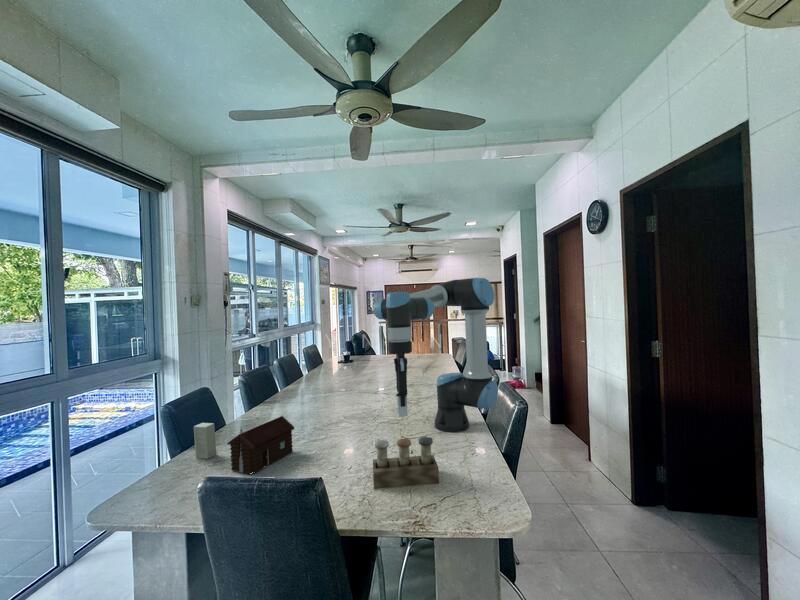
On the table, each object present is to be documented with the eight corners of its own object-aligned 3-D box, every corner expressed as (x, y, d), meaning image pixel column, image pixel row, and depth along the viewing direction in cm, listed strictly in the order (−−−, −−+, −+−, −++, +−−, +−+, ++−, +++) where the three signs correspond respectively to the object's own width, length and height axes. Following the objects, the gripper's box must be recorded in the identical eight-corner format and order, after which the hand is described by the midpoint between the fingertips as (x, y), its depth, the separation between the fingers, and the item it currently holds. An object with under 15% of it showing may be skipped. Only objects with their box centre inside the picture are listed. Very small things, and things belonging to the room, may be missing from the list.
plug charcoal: (432, 461, 118) (431, 436, 118) (434, 467, 114) (433, 441, 114) (418, 462, 118) (417, 437, 118) (420, 468, 113) (419, 442, 113)
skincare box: (216, 454, 140) (215, 423, 140) (207, 459, 136) (206, 427, 136) (203, 453, 142) (202, 422, 142) (194, 458, 138) (193, 426, 138)
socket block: (433, 469, 120) (433, 454, 120) (439, 483, 112) (438, 467, 112) (373, 474, 119) (372, 459, 119) (373, 488, 110) (373, 472, 110)
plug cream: (389, 464, 117) (388, 439, 117) (390, 470, 113) (389, 445, 113) (375, 465, 117) (374, 440, 117) (375, 471, 112) (374, 446, 112)
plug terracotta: (410, 462, 118) (409, 438, 118) (412, 469, 113) (411, 443, 113) (397, 463, 117) (396, 439, 117) (398, 470, 113) (397, 444, 113)
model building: (253, 476, 121) (251, 431, 121) (228, 470, 126) (226, 427, 126) (295, 452, 140) (293, 413, 140) (272, 448, 145) (271, 410, 145)
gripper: (386, 338, 123) (389, 408, 123) (389, 343, 107) (392, 423, 107) (408, 337, 123) (411, 406, 123) (414, 342, 108) (417, 421, 108)
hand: (402, 414), depth 115 cm, fingers open, 3 cm apart
